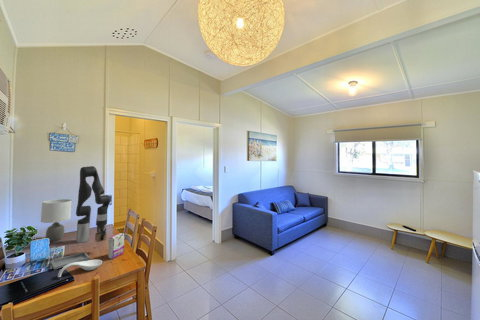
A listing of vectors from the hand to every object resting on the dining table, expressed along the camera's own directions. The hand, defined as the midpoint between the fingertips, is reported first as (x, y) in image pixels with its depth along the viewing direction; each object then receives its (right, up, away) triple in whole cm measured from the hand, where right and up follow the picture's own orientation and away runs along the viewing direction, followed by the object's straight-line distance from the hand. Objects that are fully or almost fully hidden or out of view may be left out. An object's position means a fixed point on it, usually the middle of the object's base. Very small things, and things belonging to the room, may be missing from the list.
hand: (100, 239), depth 162 cm
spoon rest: (+8, -11, -29) cm, 32 cm away
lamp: (-60, -10, +22) cm, 65 cm away
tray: (-10, -10, -18) cm, 23 cm away
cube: (0, -1, 0) cm, 1 cm away
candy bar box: (+16, -12, -5) cm, 21 cm away
